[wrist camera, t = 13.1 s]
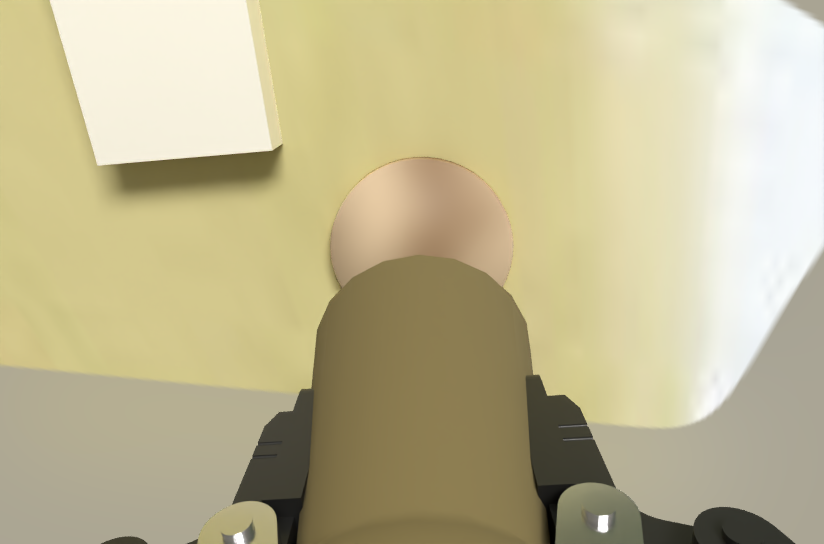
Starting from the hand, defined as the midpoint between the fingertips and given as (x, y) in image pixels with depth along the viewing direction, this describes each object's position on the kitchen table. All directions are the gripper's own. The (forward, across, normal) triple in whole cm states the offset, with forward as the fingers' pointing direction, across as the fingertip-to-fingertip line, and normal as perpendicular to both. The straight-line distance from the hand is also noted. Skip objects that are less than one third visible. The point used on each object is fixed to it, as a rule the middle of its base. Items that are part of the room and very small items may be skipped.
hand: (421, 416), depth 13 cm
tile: (+12, +9, -5) cm, 16 cm away
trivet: (+13, 0, 0) cm, 13 cm away
